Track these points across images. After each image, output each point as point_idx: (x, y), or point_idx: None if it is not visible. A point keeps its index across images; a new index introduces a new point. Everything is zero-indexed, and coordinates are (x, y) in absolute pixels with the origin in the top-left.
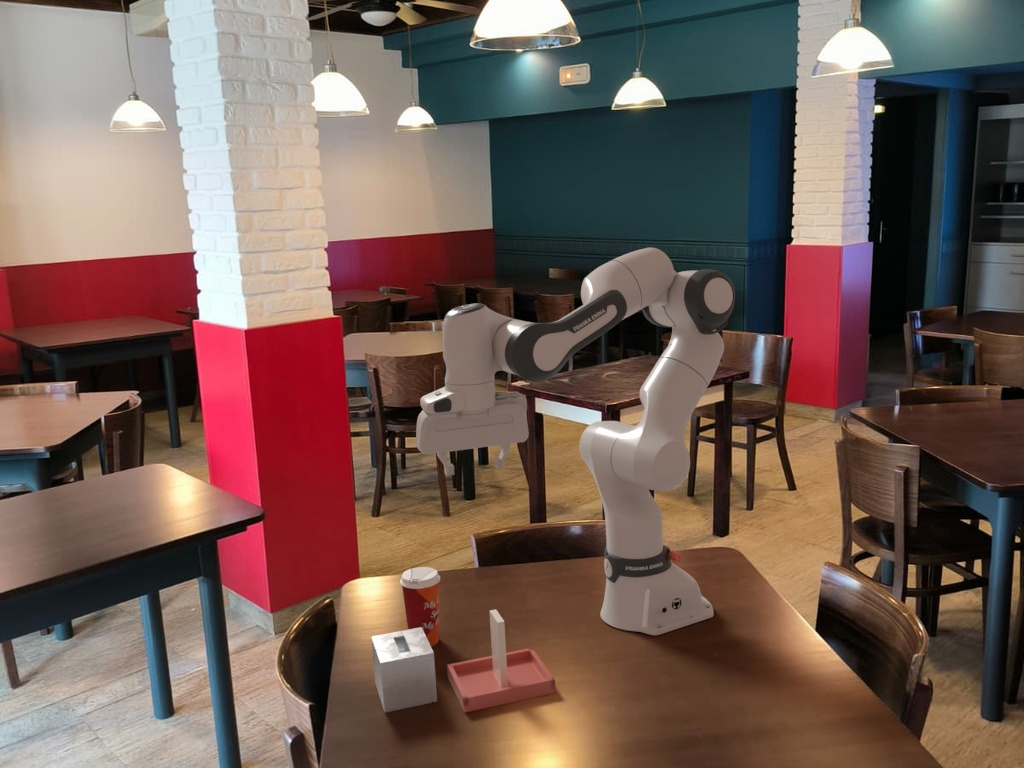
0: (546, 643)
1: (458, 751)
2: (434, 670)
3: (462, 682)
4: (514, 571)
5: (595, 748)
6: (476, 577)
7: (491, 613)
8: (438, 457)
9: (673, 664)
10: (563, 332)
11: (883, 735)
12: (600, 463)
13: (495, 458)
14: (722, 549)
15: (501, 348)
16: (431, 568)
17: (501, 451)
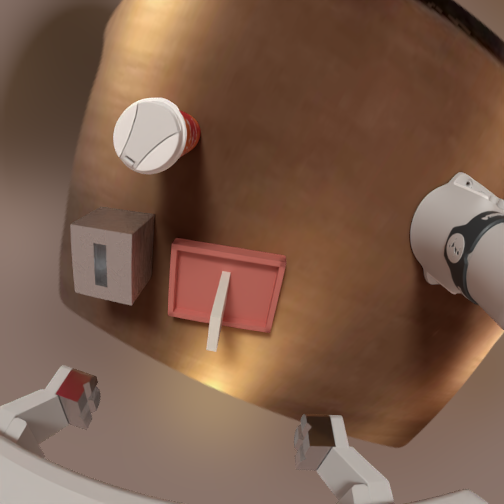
0: (323, 227)
1: (151, 349)
2: (139, 293)
3: (183, 269)
4: (394, 9)
5: (253, 394)
6: None
7: (209, 324)
8: (8, 406)
9: (396, 333)
10: None
11: (409, 434)
12: None
13: (305, 454)
14: None
15: None
16: (172, 122)
17: (350, 471)
